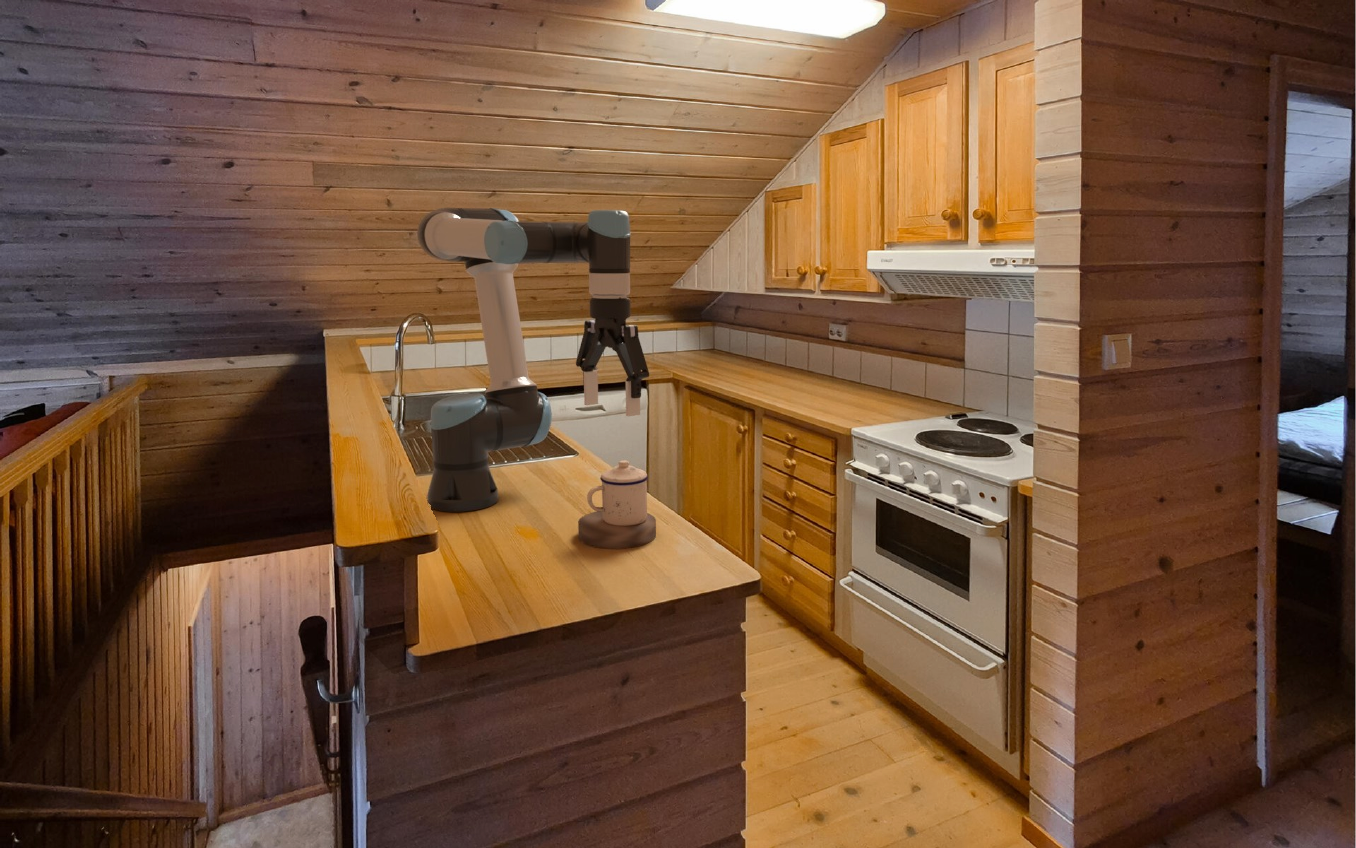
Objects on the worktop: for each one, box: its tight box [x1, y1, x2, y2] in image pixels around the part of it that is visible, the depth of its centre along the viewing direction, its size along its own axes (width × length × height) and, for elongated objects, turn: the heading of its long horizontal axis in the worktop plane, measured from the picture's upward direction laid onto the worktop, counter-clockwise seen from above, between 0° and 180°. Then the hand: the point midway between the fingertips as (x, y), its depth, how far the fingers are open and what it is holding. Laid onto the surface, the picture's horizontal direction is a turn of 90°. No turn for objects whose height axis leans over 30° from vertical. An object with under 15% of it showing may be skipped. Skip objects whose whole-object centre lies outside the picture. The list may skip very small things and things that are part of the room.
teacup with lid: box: [586, 459, 649, 526], centre depth 163 cm, size 12×9×12 cm
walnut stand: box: [577, 511, 657, 550], centre depth 165 cm, size 15×15×3 cm
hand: (611, 409), depth 161 cm, fingers open, 13 cm apart
